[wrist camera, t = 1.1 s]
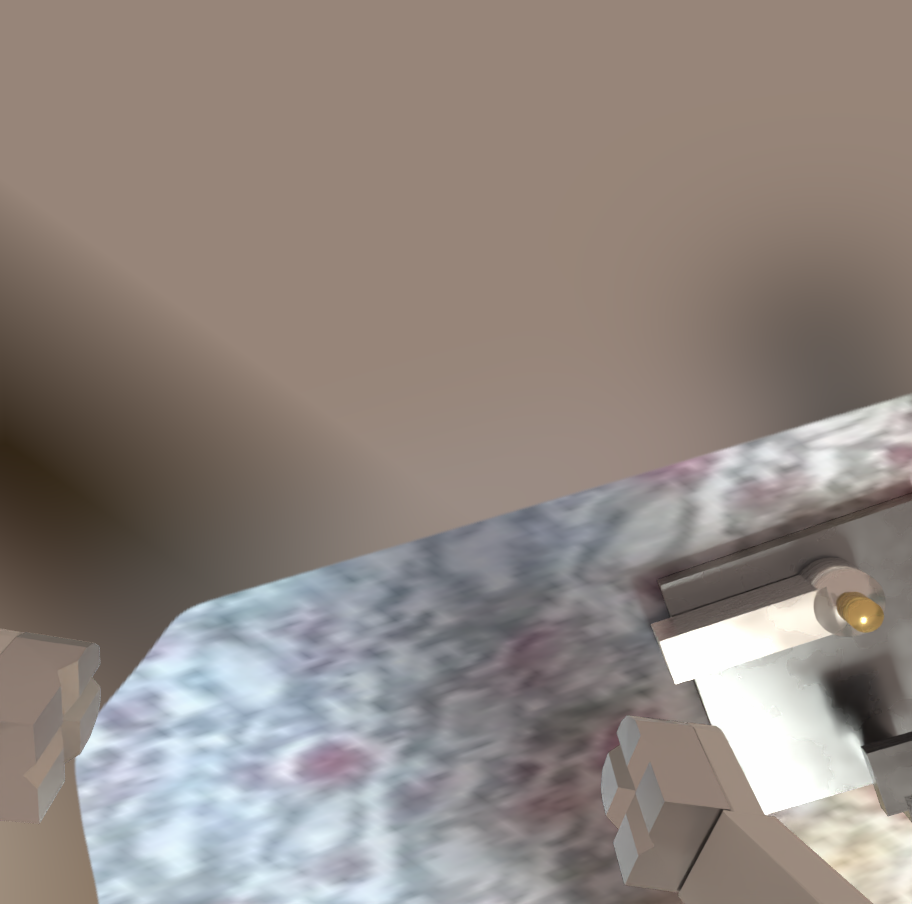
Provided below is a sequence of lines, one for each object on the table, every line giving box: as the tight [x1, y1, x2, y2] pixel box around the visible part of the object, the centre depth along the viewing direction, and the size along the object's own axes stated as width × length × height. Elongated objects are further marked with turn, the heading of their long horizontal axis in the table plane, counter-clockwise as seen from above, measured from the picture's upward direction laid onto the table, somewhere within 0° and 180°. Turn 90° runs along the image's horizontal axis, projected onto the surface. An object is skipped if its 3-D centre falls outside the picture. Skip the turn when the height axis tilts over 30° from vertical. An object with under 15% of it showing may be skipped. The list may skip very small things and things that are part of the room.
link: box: [651, 557, 886, 684], centre depth 45 cm, size 14×4×3 cm, turn 112°
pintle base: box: [657, 493, 912, 822], centre depth 44 cm, size 18×19×6 cm
